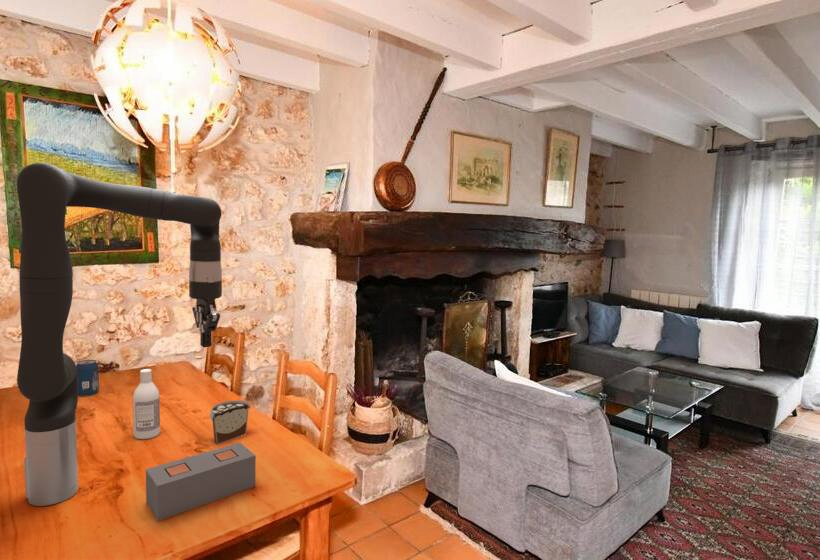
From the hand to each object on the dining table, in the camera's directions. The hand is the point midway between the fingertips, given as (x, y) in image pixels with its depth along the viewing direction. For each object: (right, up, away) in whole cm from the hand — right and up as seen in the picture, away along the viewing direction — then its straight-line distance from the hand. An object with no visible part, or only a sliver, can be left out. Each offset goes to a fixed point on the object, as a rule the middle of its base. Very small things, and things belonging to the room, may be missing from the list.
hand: (206, 346), depth 119 cm
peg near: (-2, -35, -11) cm, 36 cm away
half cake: (-4, -31, +23) cm, 39 cm away
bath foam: (-27, -30, +22) cm, 46 cm away
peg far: (+7, -34, -4) cm, 35 cm away
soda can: (-66, -25, +52) cm, 88 cm away
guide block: (+3, -34, -7) cm, 35 cm away
